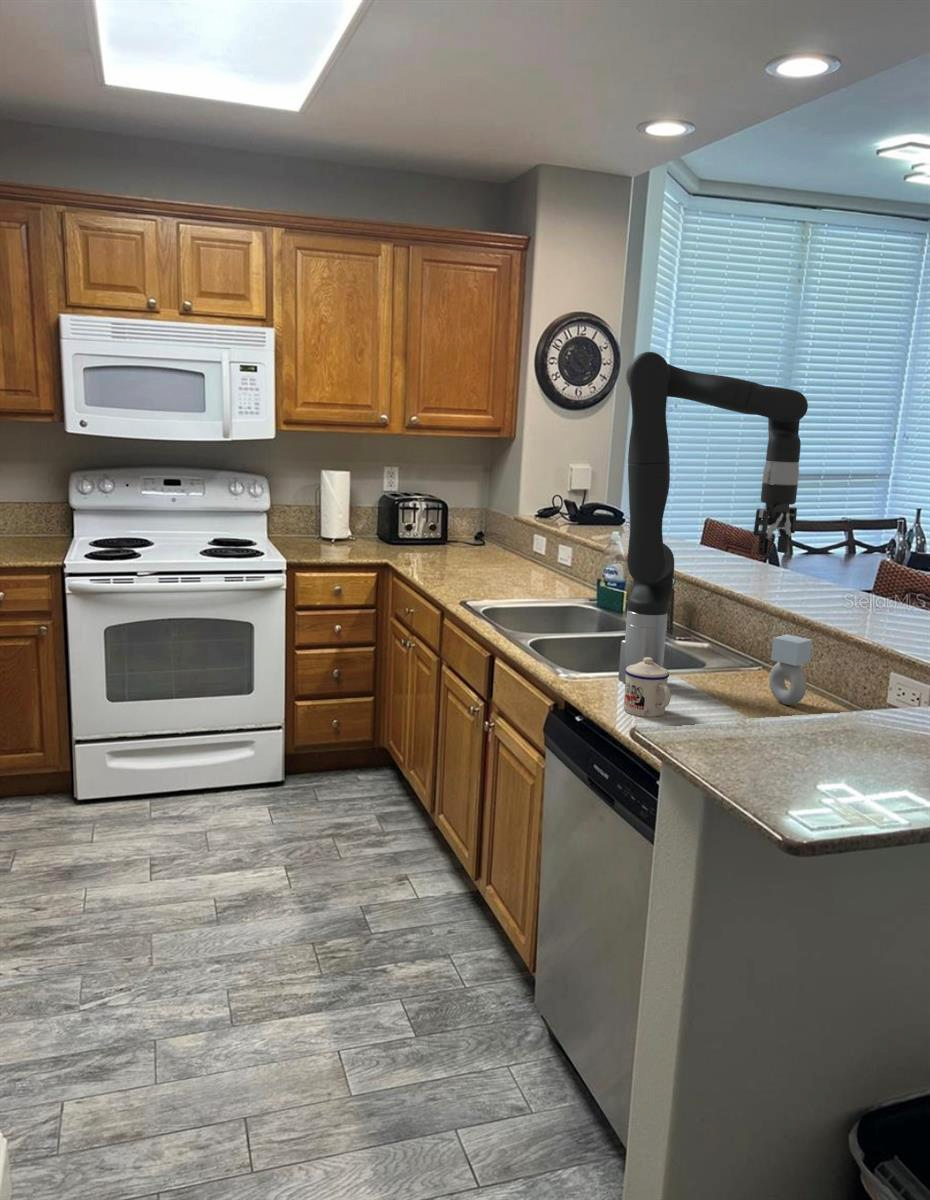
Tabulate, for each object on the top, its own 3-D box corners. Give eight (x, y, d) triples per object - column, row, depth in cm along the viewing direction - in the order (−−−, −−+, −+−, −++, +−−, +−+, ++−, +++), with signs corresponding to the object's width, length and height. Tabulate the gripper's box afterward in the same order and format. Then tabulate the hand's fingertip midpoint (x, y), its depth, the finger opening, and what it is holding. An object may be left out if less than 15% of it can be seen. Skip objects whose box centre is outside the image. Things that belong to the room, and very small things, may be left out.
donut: (763, 698, 208) (768, 655, 206) (775, 697, 209) (780, 654, 207) (795, 711, 199) (800, 667, 197) (807, 710, 200) (812, 666, 199)
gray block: (770, 659, 202) (773, 637, 201) (784, 656, 206) (787, 634, 205) (796, 665, 198) (798, 643, 197) (809, 661, 202) (812, 639, 201)
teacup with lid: (613, 707, 197) (617, 654, 194) (646, 702, 201) (651, 651, 199) (649, 724, 186) (654, 669, 184) (684, 719, 191) (689, 665, 188)
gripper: (780, 480, 213) (773, 549, 216) (748, 481, 203) (741, 553, 206) (811, 482, 207) (803, 554, 210) (779, 483, 198) (771, 558, 201)
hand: (772, 553), depth 208 cm, fingers open, 8 cm apart
